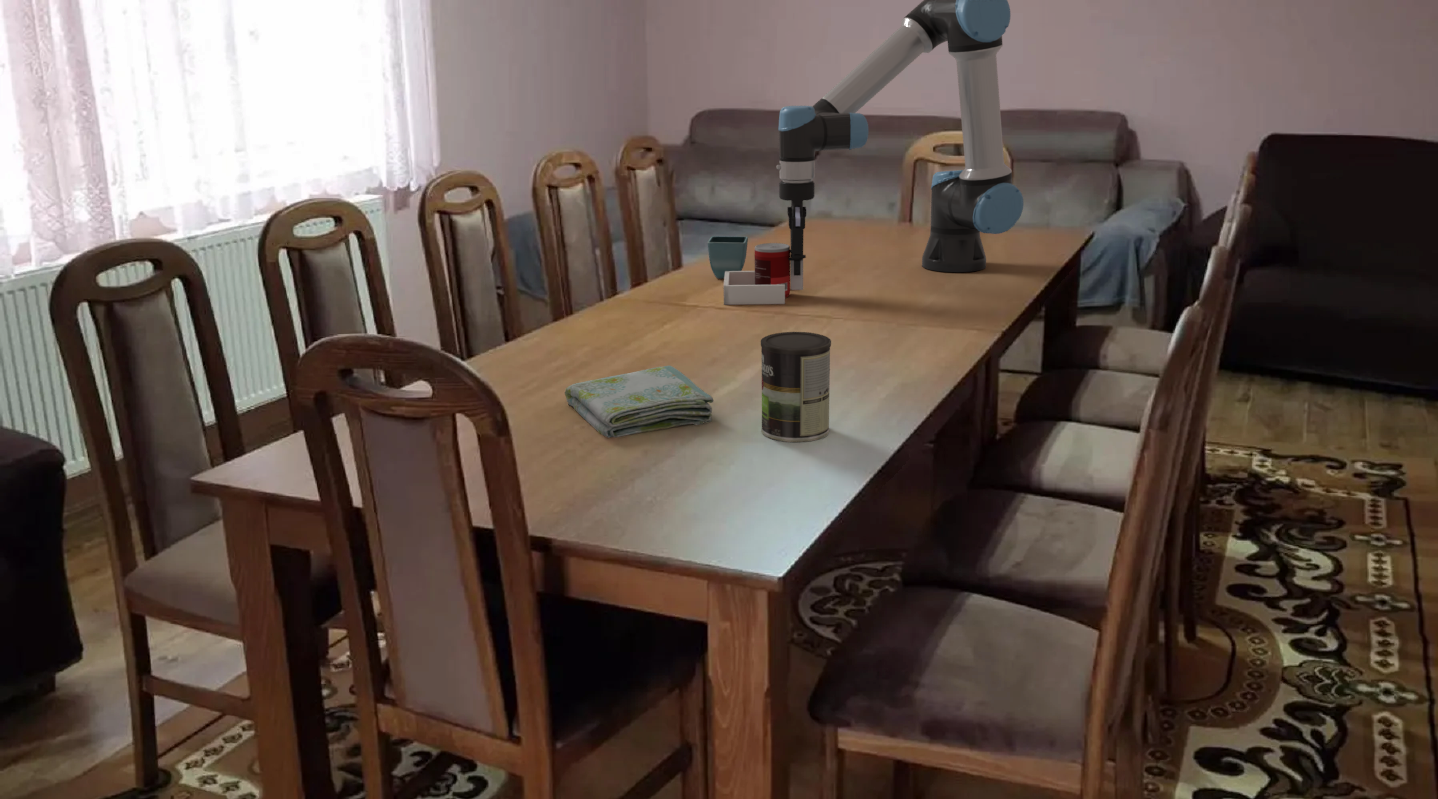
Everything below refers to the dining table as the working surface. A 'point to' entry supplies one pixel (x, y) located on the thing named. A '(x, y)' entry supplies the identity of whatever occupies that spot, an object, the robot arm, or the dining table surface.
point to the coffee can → (795, 386)
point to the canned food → (773, 265)
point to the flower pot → (727, 254)
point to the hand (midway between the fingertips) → (796, 289)
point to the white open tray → (750, 290)
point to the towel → (640, 401)
